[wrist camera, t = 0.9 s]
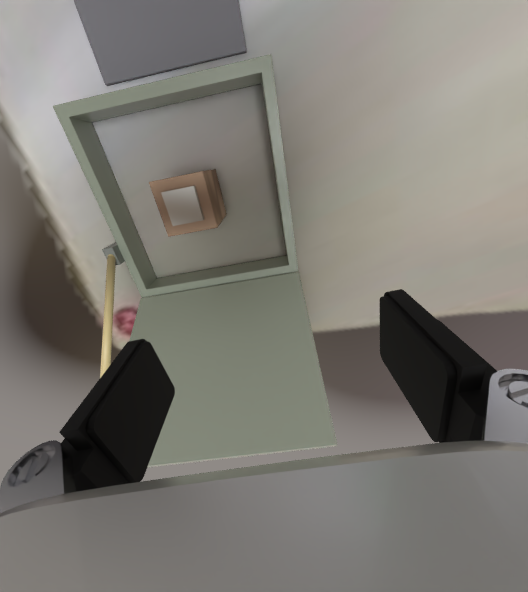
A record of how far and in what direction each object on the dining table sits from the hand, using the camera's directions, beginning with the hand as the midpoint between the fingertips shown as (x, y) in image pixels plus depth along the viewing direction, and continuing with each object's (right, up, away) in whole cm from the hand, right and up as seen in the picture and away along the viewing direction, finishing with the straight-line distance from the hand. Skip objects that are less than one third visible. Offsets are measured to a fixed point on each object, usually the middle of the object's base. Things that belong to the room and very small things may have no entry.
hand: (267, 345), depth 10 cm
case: (-7, +10, +21) cm, 25 cm away
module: (-8, +14, +19) cm, 25 cm away
